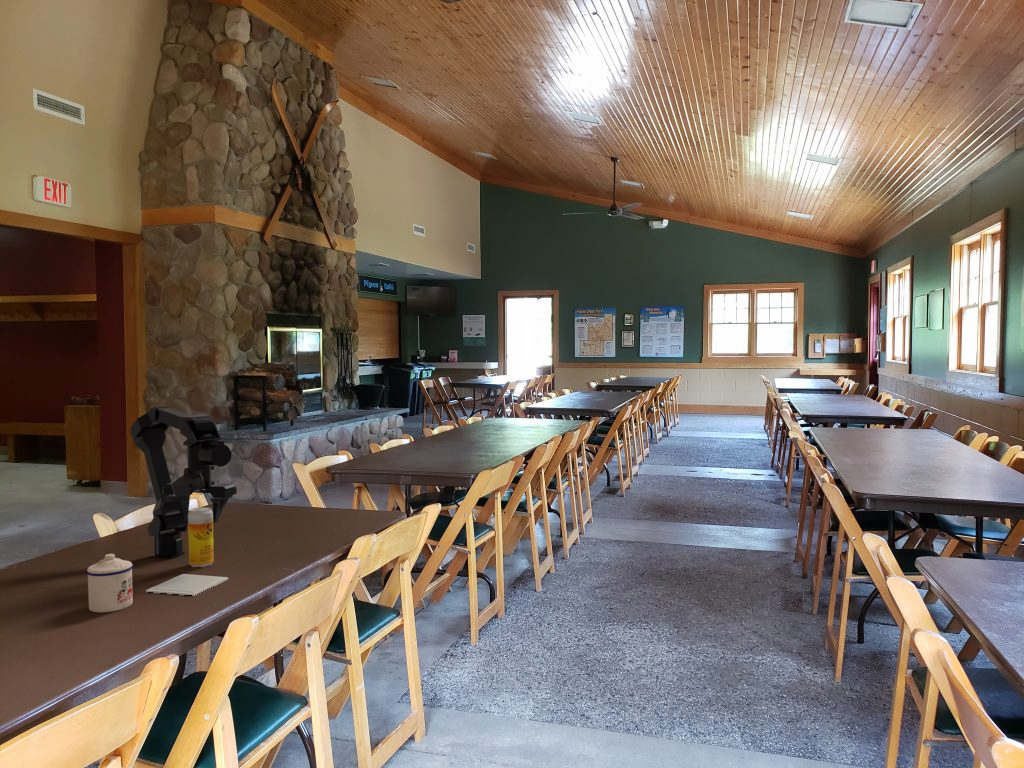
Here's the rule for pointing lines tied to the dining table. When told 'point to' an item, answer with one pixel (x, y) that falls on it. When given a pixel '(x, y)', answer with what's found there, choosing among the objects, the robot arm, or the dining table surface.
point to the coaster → (187, 584)
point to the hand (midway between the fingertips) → (200, 521)
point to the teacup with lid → (110, 584)
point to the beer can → (200, 537)
